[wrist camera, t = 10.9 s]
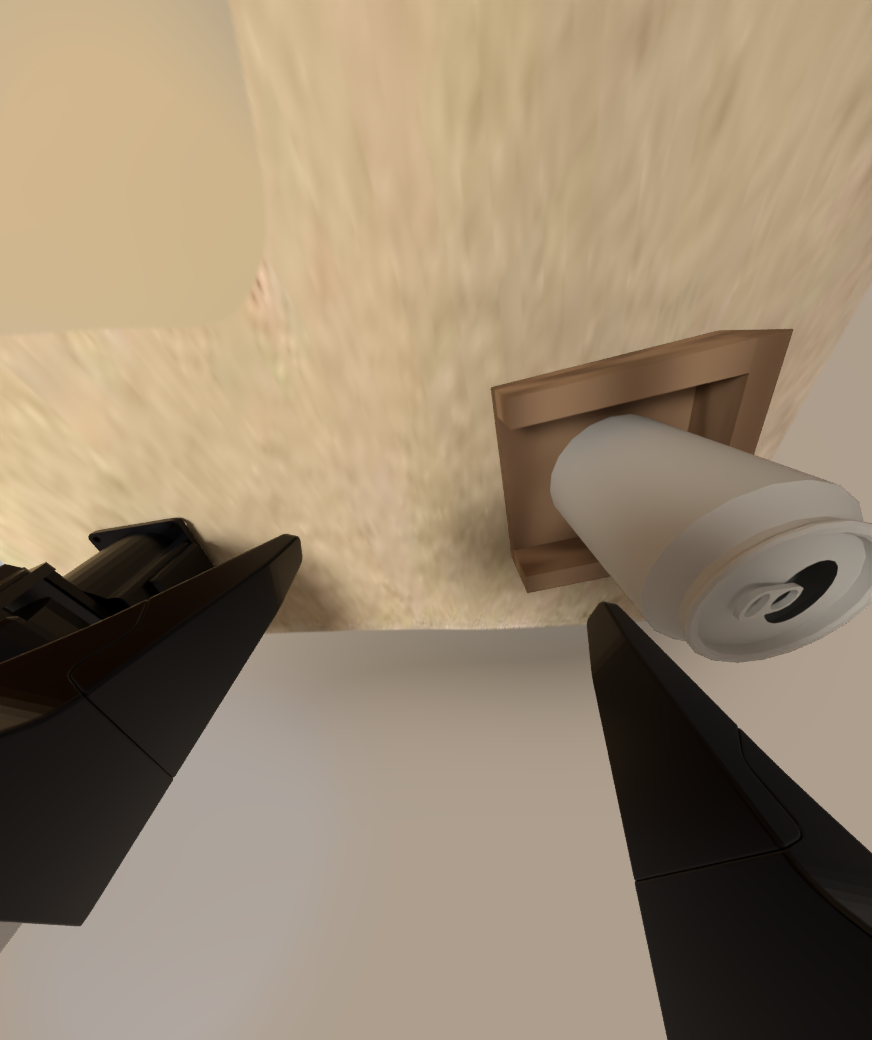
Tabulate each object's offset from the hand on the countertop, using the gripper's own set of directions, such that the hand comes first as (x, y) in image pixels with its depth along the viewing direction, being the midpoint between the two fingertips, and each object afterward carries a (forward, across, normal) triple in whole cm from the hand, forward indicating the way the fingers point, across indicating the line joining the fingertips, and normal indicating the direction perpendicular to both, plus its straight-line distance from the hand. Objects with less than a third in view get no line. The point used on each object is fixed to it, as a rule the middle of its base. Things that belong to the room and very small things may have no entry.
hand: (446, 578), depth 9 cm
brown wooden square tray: (+14, -9, +1) cm, 17 cm away
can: (+13, -9, +1) cm, 16 cm away
